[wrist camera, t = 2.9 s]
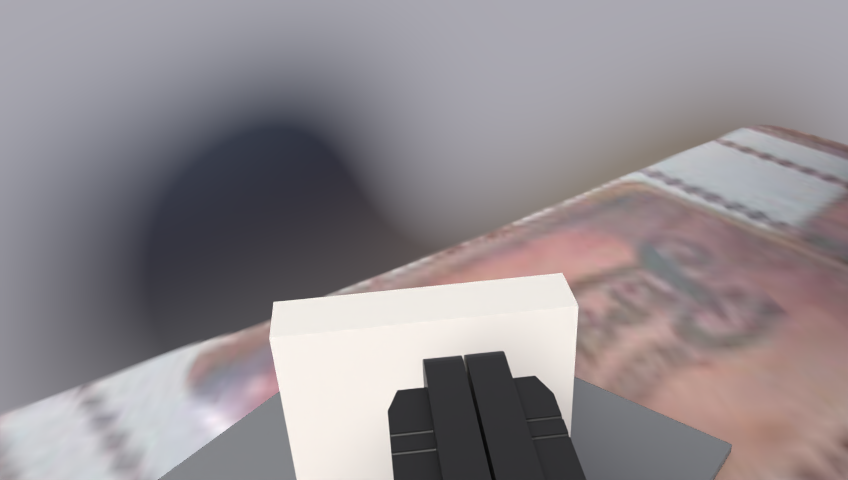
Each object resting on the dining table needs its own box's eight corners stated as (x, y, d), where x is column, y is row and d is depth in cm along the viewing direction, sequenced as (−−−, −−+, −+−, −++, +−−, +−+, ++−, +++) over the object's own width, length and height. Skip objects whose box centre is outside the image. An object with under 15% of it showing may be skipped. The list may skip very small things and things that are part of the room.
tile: (561, 588, 32) (578, 305, 25) (323, 618, 31) (269, 337, 24) (548, 542, 34) (560, 268, 27) (324, 570, 33) (274, 297, 26)
